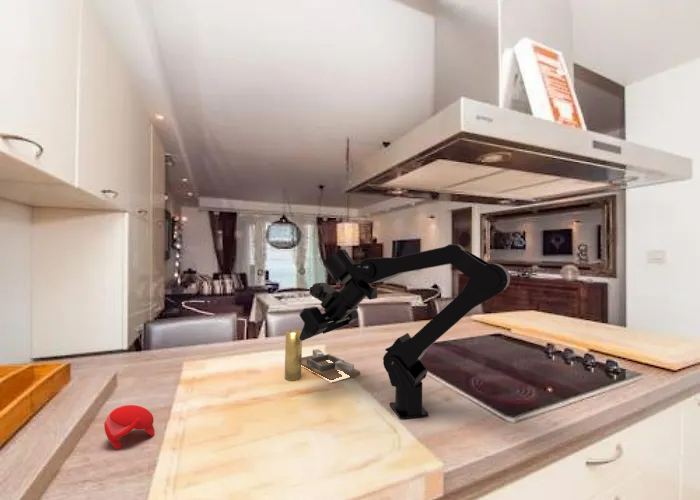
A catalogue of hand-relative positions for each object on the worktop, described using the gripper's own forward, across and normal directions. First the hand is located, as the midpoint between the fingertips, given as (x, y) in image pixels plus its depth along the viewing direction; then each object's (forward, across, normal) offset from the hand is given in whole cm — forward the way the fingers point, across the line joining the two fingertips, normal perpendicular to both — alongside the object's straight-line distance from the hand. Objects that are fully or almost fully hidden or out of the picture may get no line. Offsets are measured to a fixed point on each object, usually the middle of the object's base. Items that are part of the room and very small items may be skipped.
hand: (312, 335), depth 82 cm
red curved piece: (+16, +38, +1) cm, 41 cm away
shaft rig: (+11, -11, +6) cm, 17 cm away
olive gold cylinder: (+13, 0, +4) cm, 14 cm away
